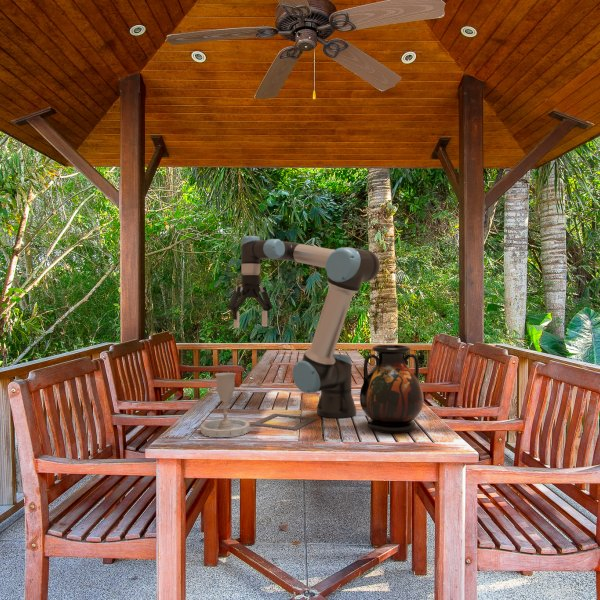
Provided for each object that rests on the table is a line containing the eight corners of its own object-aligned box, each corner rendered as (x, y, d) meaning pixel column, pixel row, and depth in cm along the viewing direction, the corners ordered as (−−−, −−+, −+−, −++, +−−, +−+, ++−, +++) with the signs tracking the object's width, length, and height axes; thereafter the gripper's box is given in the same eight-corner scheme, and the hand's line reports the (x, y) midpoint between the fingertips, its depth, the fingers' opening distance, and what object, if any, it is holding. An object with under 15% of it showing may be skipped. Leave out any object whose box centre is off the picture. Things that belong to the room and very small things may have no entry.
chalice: (225, 431, 167) (226, 376, 167) (210, 428, 171) (210, 374, 171) (240, 426, 173) (240, 373, 173) (224, 424, 177) (224, 372, 177)
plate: (258, 428, 176) (258, 421, 176) (232, 440, 161) (232, 432, 161) (219, 423, 183) (219, 417, 183) (191, 434, 168) (191, 427, 168)
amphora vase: (366, 437, 165) (366, 350, 164) (354, 421, 186) (354, 343, 186) (432, 435, 166) (432, 349, 166) (413, 419, 188) (413, 343, 187)
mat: (317, 419, 189) (317, 418, 189) (296, 430, 173) (295, 429, 173) (274, 414, 197) (274, 413, 197) (250, 425, 181) (250, 423, 181)
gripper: (270, 275, 219) (270, 325, 219) (219, 274, 203) (219, 328, 203) (280, 275, 213) (281, 326, 213) (229, 273, 197) (229, 328, 197)
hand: (250, 327), depth 208 cm, fingers open, 13 cm apart
